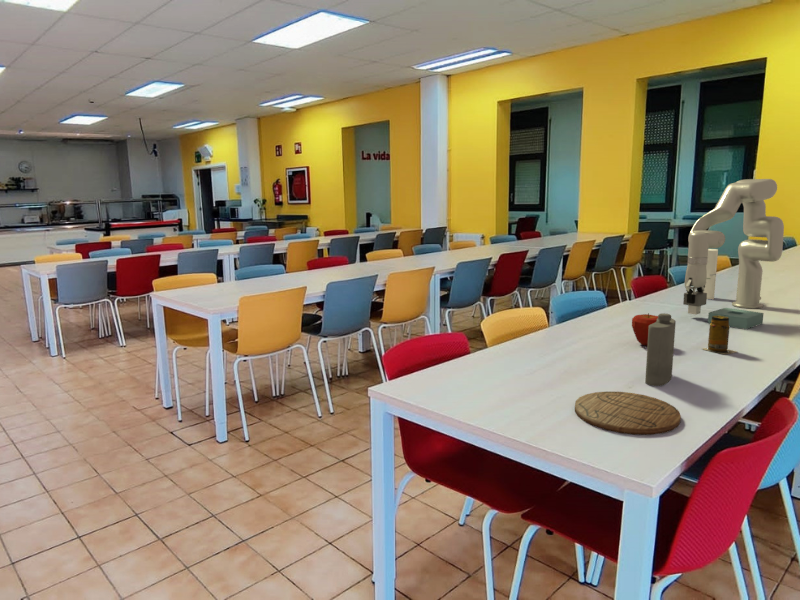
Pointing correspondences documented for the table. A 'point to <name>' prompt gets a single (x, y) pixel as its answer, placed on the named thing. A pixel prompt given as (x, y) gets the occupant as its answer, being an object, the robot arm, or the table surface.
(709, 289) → the cylindrical container
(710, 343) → the condiment
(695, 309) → the plug
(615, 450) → the table surface
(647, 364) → the flask
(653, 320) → the apple
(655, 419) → the trivet
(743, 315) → the socket
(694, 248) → the robot arm
